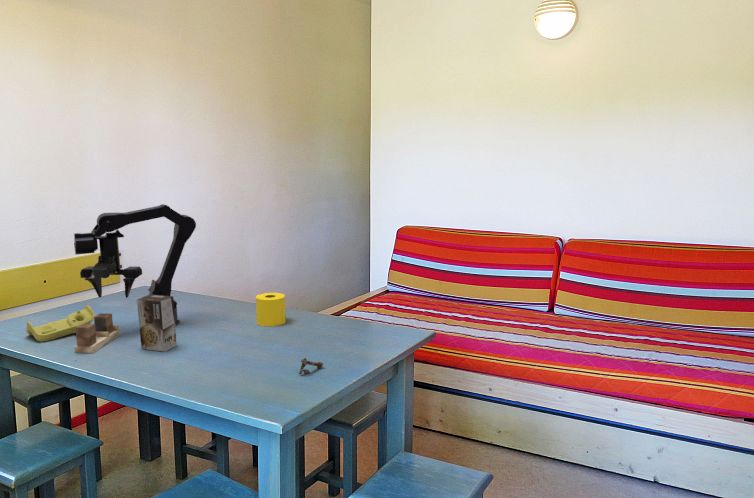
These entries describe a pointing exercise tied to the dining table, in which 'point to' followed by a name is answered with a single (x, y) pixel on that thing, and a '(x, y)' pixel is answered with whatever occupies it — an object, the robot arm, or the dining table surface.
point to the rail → (97, 345)
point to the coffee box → (157, 322)
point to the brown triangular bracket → (304, 362)
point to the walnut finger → (103, 323)
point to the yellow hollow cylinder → (270, 309)
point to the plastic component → (61, 325)
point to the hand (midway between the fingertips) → (113, 297)
